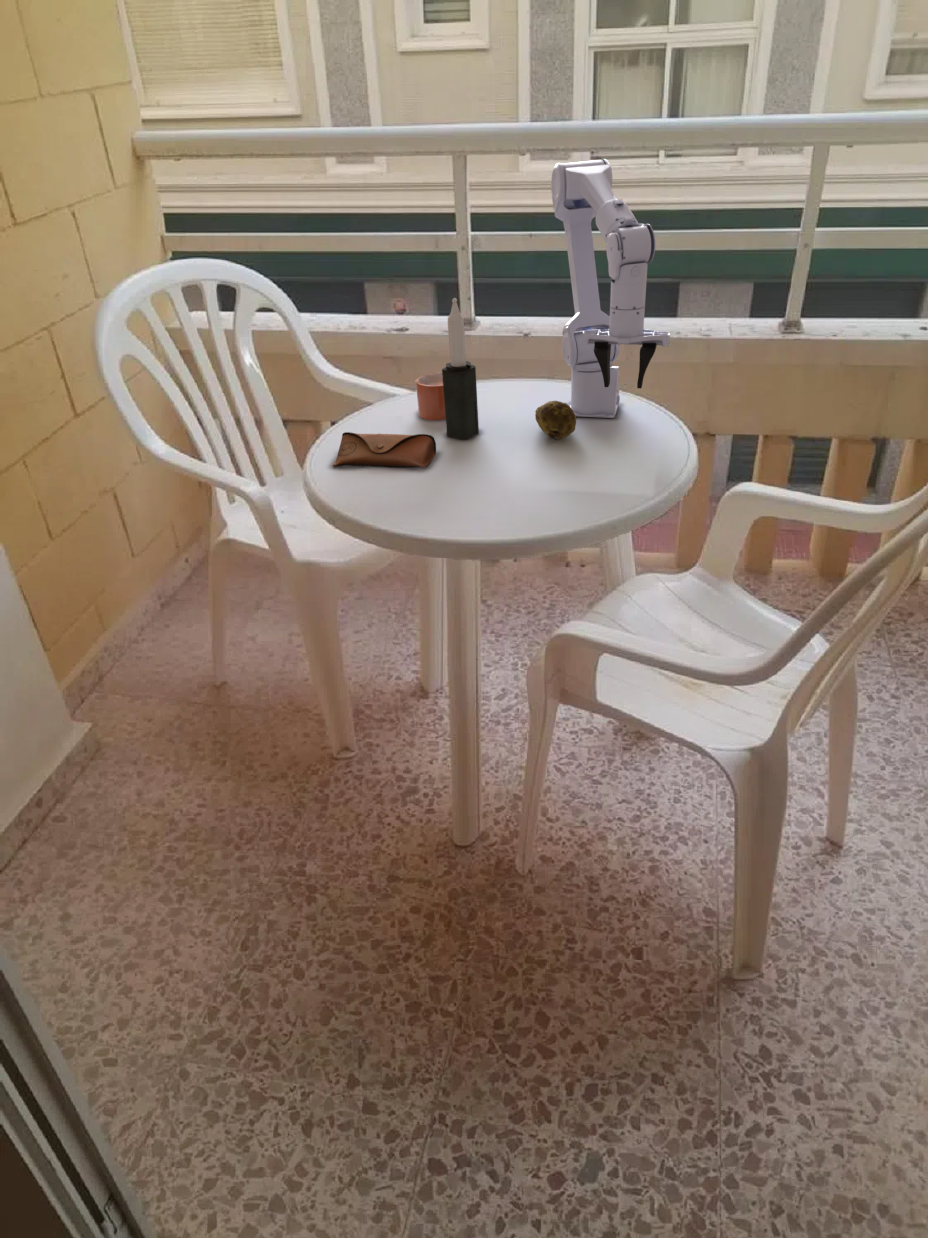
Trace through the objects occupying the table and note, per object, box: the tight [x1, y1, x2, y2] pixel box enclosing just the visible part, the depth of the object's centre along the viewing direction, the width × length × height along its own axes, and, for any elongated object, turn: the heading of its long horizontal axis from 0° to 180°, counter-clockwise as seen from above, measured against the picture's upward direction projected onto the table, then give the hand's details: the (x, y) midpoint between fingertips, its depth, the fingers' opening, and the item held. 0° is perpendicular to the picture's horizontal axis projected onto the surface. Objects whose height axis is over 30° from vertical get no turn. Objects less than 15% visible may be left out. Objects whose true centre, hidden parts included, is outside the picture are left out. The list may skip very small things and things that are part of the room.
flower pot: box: [415, 372, 446, 421], centre depth 166 cm, size 8×8×7 cm
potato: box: [535, 400, 577, 440], centre depth 151 cm, size 8×13×8 cm, turn 166°
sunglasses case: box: [332, 431, 437, 469], centre depth 149 cm, size 18×7×7 cm
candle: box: [441, 297, 480, 441], centre depth 151 cm, size 5×5×25 cm
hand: (623, 385), depth 144 cm, fingers open, 5 cm apart
